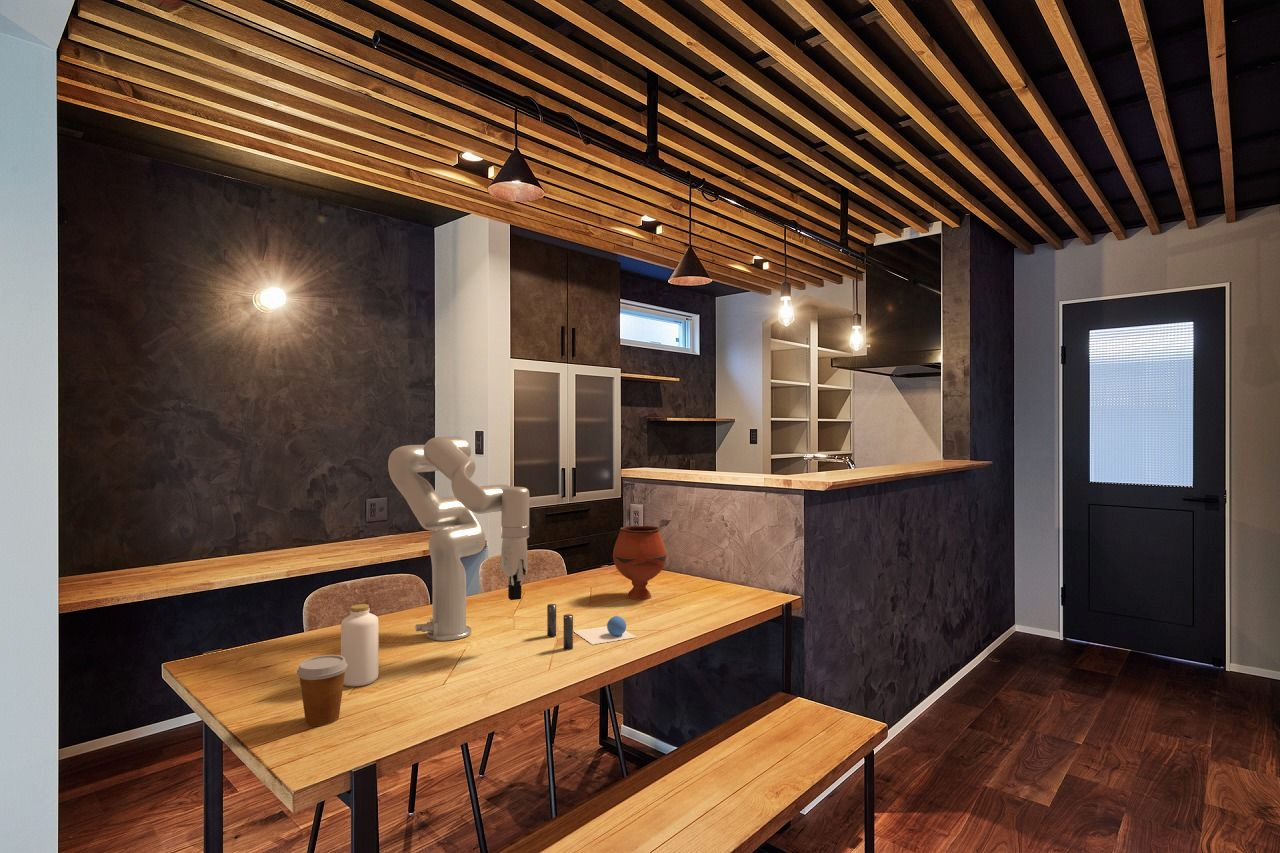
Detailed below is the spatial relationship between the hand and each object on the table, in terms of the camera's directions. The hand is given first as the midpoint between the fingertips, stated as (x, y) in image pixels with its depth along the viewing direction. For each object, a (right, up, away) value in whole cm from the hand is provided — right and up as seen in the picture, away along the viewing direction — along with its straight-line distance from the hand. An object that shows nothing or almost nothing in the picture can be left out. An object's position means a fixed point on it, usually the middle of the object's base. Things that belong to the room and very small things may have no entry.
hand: (514, 598), depth 183 cm
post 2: (+15, -14, 0) cm, 20 cm away
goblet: (+34, -14, +57) cm, 68 cm away
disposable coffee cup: (-32, -14, -44) cm, 56 cm away
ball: (+28, -11, +12) cm, 32 cm away
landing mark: (+24, -14, +13) cm, 30 cm away
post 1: (+9, -14, +12) cm, 20 cm away
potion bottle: (-33, -14, -23) cm, 43 cm away
